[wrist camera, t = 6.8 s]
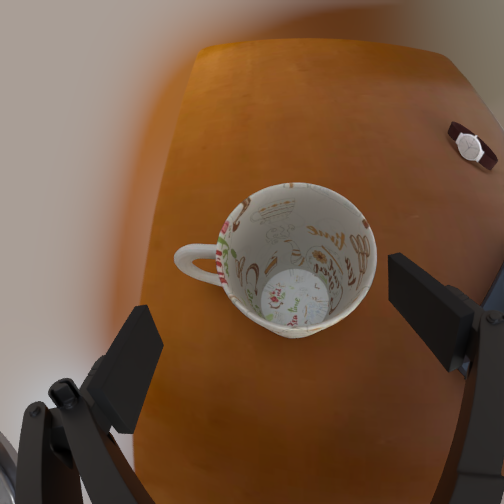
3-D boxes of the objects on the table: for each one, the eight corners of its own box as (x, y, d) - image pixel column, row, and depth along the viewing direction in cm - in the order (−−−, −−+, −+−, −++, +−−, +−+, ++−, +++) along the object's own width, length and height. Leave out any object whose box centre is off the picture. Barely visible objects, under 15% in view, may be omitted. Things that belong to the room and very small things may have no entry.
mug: (341, 356, 21) (377, 336, 12) (186, 338, 24) (126, 306, 15) (347, 258, 25) (373, 187, 16) (205, 247, 27) (166, 178, 18)
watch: (439, 139, 30) (448, 118, 26) (453, 127, 30) (462, 108, 27) (484, 180, 26) (497, 161, 23) (495, 164, 27) (507, 147, 24)
